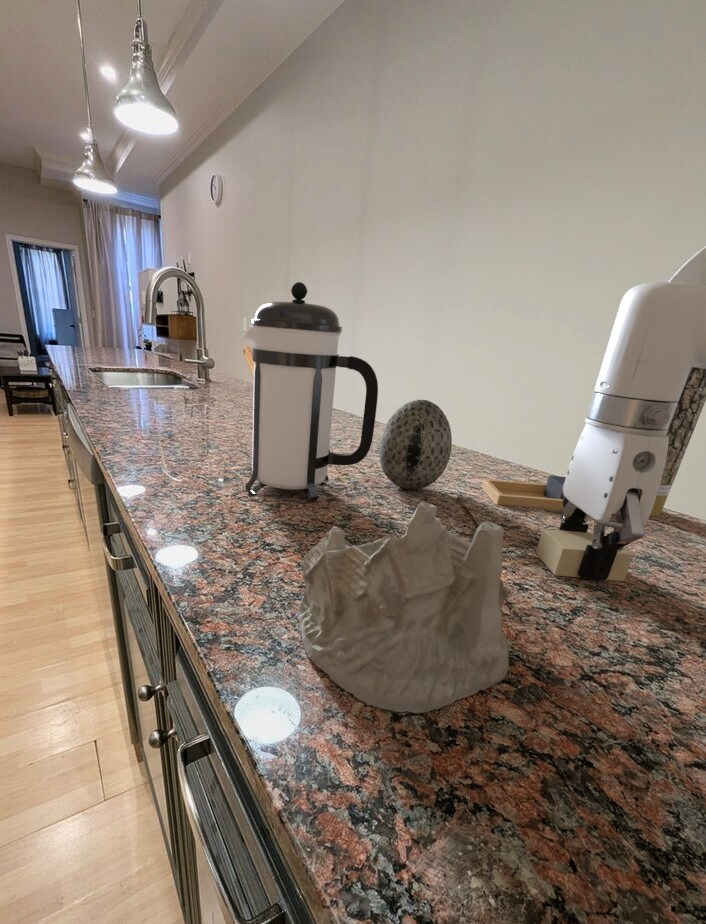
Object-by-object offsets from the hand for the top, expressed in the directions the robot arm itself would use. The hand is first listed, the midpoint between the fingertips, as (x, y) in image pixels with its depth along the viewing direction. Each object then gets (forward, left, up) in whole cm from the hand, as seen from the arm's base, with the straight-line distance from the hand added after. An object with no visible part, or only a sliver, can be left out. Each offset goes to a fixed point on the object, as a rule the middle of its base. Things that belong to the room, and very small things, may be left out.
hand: (578, 563), depth 54 cm
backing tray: (-6, -23, 0) cm, 24 cm away
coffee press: (+36, -20, -1) cm, 41 cm away
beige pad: (0, 0, 0) cm, 0 cm away
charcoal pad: (-11, -23, 0) cm, 25 cm away
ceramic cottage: (+24, +17, -1) cm, 29 cm away
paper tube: (-21, -23, -1) cm, 31 cm away
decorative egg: (+17, -25, -1) cm, 30 cm away
